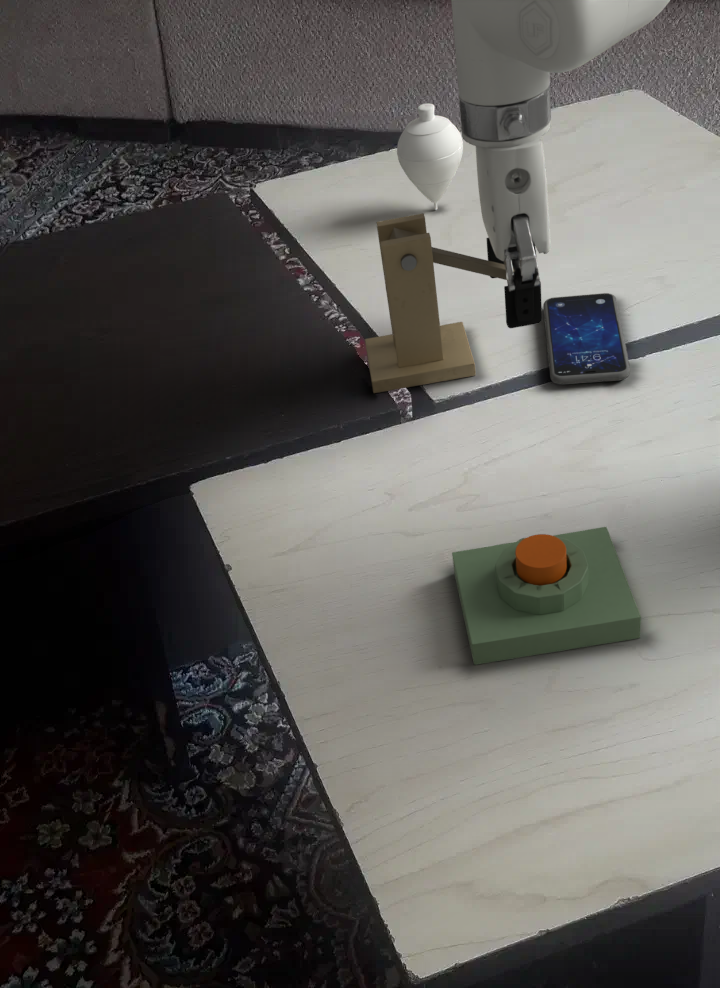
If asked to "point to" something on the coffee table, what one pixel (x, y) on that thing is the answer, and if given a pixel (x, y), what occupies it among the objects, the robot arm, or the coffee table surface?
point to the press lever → (461, 259)
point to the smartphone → (585, 339)
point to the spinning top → (430, 152)
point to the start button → (541, 559)
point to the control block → (545, 600)
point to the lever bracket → (414, 316)
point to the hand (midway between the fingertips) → (514, 298)
